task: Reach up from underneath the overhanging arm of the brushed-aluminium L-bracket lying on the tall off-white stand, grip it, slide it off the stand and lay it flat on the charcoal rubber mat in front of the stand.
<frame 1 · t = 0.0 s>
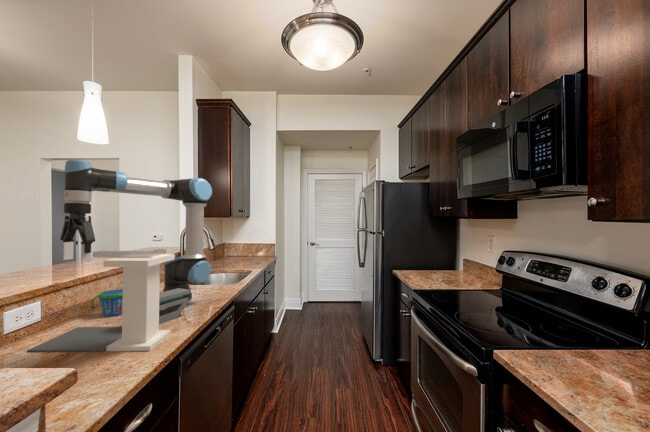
hand: (76, 260, 105), 28 cm above the countertop, tool pointing down, fingers open, 13 cm apart
pipe clamp: (163, 311, 135), on the countertop
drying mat: (89, 338, 103), on the countertop
stand: (141, 342, 101), on the countertop
snack cup: (113, 314, 130), on the countertop
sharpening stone: (159, 321, 122), on the countertop
bracket: (125, 256, 101), point 30 cm above the countertop, touching stand
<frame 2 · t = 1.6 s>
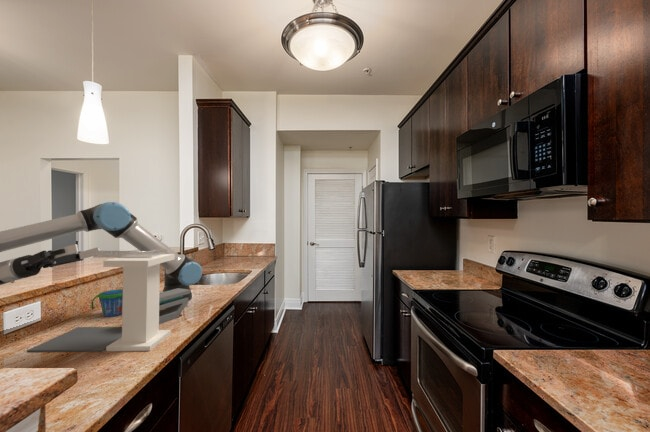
hand: (88, 249, 105), 32 cm above the countertop, tool pointing upward, fingers open, 13 cm apart
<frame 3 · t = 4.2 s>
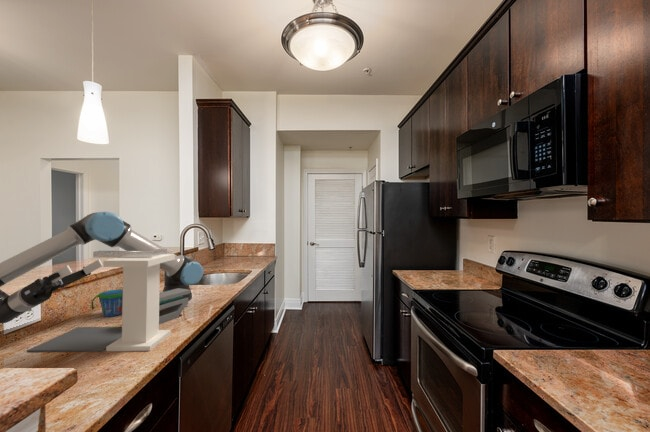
hand: (86, 265, 100), 27 cm above the countertop, tool pointing upward, fingers open, 13 cm apart
pipe clamp: (166, 312, 135), on the countertop
everything else where it was.
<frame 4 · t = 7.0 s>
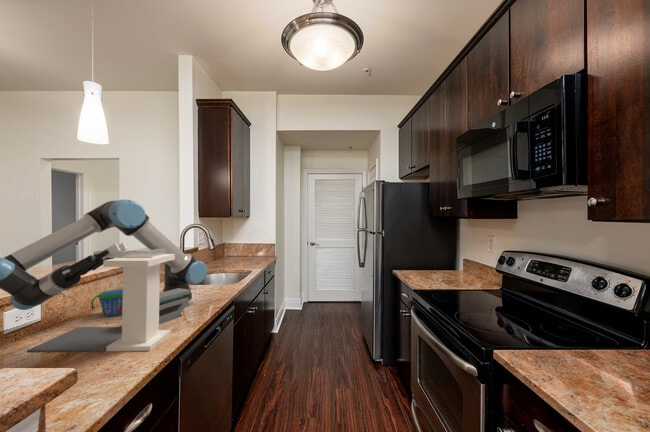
hand: (121, 246, 101), 34 cm above the countertop, tool pointing upward, fingers closed on bracket, 3 cm apart
pipe clamp: (168, 312, 134), on the countertop
bracket: (125, 256, 101), point 30 cm above the countertop, touching gripper, stand
everything else where it was.
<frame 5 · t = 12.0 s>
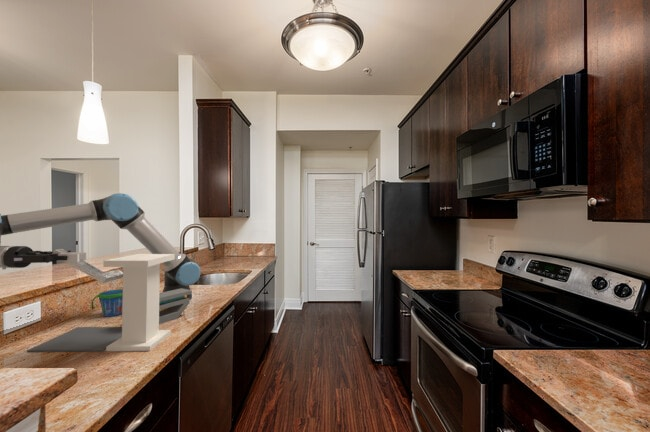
hand: (82, 257, 100), 30 cm above the countertop, tool horizontal, fingers closed on bracket, 3 cm apart
pipe clamp: (172, 312, 134), on the countertop
bracket: (80, 268, 100), point 26 cm above the countertop, tilted 30°, touching gripper
when the fingers open (10 cm above the countertop, at t = 16.3 s): bracket drops 6 cm, resting on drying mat.
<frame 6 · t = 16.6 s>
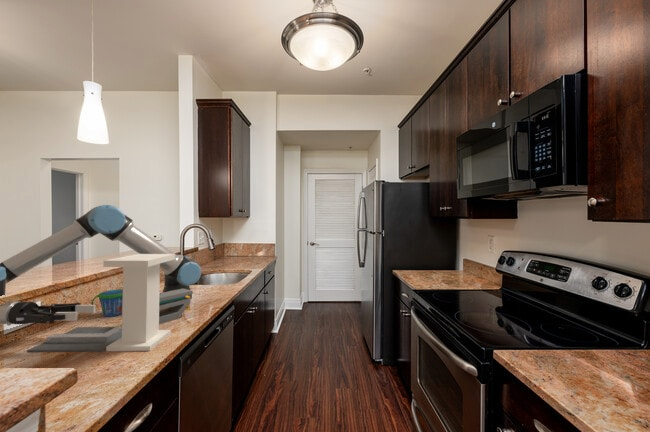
hand: (85, 312, 100), 10 cm above the countertop, tool horizontal, fingers open, 7 cm apart
pipe clamp: (175, 312, 134), on the countertop
bracket: (80, 341, 100), point 1 cm above the countertop, touching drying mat
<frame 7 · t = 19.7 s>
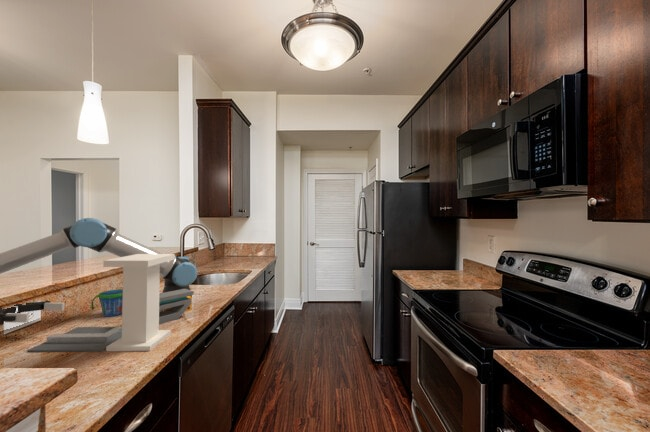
hand: (46, 312, 100), 11 cm above the countertop, tool horizontal, fingers open, 13 cm apart
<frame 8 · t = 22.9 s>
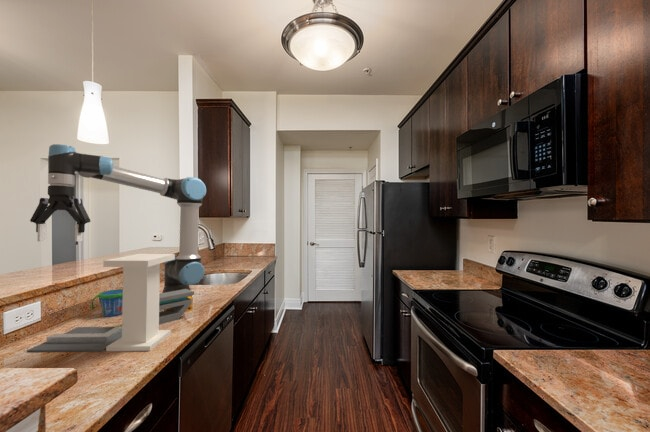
hand: (60, 241, 109), 35 cm above the countertop, tool pointing down, fingers open, 13 cm apart
at the end: bracket inside the target area (0.6 cm from its centre), point 0.6 cm above the countertop; bracket touching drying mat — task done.
